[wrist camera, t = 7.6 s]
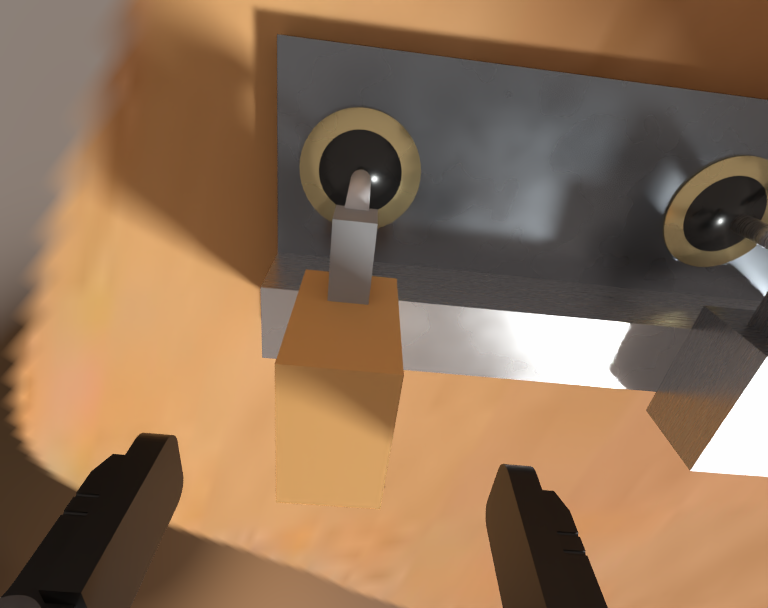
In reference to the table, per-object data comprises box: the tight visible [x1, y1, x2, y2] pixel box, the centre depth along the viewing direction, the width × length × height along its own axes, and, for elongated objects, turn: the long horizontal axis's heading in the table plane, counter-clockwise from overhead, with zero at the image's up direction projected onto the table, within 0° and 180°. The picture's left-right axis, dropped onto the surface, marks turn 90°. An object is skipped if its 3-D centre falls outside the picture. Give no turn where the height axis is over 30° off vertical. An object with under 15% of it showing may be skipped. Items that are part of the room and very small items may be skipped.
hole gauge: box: [261, 34, 768, 477], centre depth 16 cm, size 22×12×7 cm, turn 83°
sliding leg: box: [275, 170, 404, 509], centre depth 14 cm, size 3×8×7 cm, turn 173°
